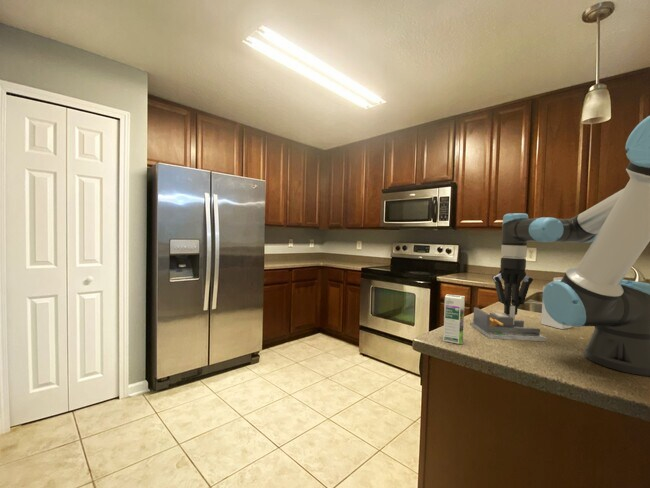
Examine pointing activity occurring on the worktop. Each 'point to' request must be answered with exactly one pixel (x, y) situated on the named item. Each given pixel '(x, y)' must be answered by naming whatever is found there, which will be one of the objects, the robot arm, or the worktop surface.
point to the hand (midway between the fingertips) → (510, 323)
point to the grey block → (502, 319)
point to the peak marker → (494, 322)
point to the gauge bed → (504, 329)
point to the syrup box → (453, 319)
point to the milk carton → (546, 317)
